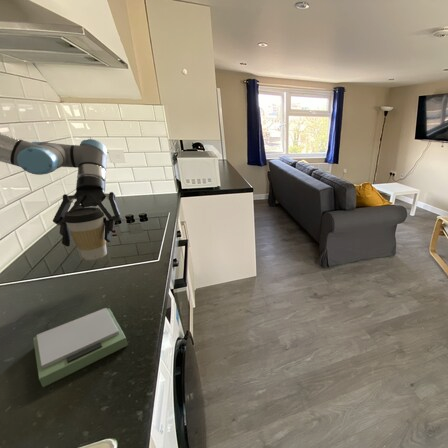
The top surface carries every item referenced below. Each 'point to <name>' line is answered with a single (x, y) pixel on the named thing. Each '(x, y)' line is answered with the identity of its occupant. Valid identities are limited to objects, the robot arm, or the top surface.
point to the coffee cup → (87, 231)
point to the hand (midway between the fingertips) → (87, 242)
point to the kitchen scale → (77, 345)
